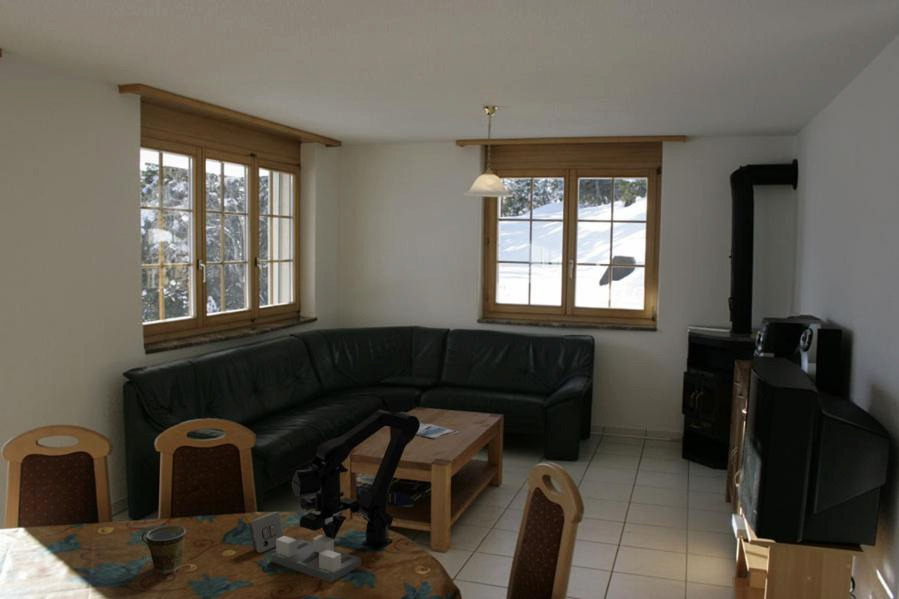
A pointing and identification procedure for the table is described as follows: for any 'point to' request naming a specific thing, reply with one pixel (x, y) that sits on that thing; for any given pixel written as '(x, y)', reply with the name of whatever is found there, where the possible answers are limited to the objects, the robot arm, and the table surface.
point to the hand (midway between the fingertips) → (330, 543)
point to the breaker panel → (313, 559)
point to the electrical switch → (265, 531)
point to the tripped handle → (323, 544)
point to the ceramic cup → (165, 547)
